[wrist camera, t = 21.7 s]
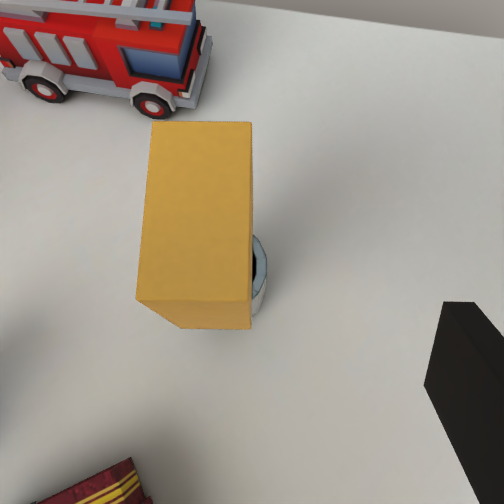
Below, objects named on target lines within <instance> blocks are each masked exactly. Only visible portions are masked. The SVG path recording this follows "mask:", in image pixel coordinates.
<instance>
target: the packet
mask: <svg viewBox="0 0 504 504" xmlns="http://www.w3.org/2000/svg"><path fill="white" fill-rule="evenodd" d="M252 244H253V171H252V123H251V122H204V121H153V123H152V133H151V143H150V153H149V164H148V174H147V185H146V195H145V206H144V216H143V227H142V237H141V248H140V258H139V268H138V279H137V289H136V300H137V301H139V302H140V303H142V304H143V305H145V306H147V307H148V308H150V309H151V310H153V311H154V312H156V313H157V314H159V315H161V316H162V317H164V318H165V319H167V320H168V321H170V322H171V323H173V324H175V325H176V326H178V327H179V328H181V329H251V315H252Z"/></svg>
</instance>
